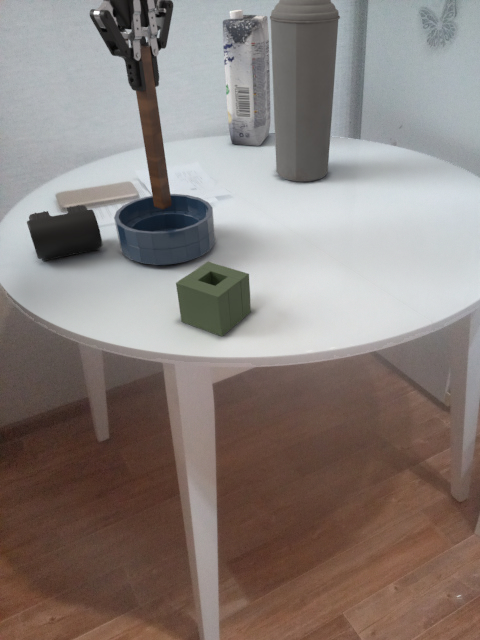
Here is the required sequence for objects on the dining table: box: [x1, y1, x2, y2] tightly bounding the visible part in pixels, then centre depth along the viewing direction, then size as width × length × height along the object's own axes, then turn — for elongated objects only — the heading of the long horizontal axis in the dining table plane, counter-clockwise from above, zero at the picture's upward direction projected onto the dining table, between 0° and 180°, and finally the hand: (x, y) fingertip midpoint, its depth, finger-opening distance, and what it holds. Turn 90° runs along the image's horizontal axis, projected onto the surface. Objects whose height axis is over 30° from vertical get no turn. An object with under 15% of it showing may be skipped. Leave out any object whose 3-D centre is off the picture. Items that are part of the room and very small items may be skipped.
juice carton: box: [222, 9, 271, 147], centre depth 129 cm, size 9×10×27 cm
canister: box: [269, 0, 341, 182], centre depth 108 cm, size 13×13×35 cm
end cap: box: [26, 204, 103, 262], centre depth 89 cm, size 10×7×7 cm
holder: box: [175, 261, 252, 337], centre depth 74 cm, size 7×7×6 cm
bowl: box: [113, 193, 216, 266], centre depth 91 cm, size 15×15×6 cm
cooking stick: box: [129, 46, 172, 209], centre depth 81 cm, size 2×2×22 cm
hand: (145, 87), depth 78 cm, fingers closed on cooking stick, 2 cm apart
